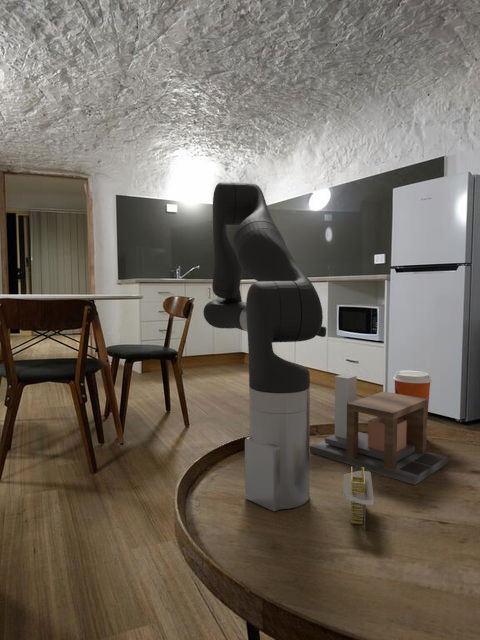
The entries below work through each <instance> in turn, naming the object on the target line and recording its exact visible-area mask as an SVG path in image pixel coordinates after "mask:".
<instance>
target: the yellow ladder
mask: <svg viewBox="0 0 480 640" xmlns="http://www.w3.org/2000/svg"><path fill="white" fill-rule="evenodd" d="M350 466H351V468H350V469H351V470H350V471H351V472H348V473H344V474H343V492H342V494H343V498H344V499H345V500H347V501H349V502H350V523H351V524H357V525H363V531H365V532H366V514H367V513H366V512H367V510H366V509H367V508H366V505H367V506H373V505H374V504H375V500H374V499H375V498H374V491H373V490H374V489H373V481H372V473H371V472H372V471H369V470H365V469H364V467H362V468H363V469H362V468H361V470H356V471H353V465H350Z"/></svg>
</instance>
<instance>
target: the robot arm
mask: <svg viewBox="0 0 480 640" xmlns="http://www.w3.org/2000/svg"><path fill="white" fill-rule="evenodd" d="M266 201H267V200H266V198H265V196H264V192H263V191H262V188H261V187H260V186H259V185H258V184H256V183H253V182H240V181H238V182H237V181H221V182H218V183H217V184H216V186H215V188H214V191H213V197H212V235H213V253H214V254H213V256H214V258H213V261H214V262H213V263H214V264H213V274H212V275H213V278H212V286H211V287H212V292H213V293H214V295H215V296H217V297H218V298H215V299H213V300H211V301H208V302H207V303H206V304H205V305H204V308H203V312H202V313H203V317H204V319H205V321H206V323H208V324H209V325H210V326H211V327H213V328H216V329H217V328H218V329H228V330H229V329H230V330H231V329H239V330H241V331H244V332H247V346H248V347H247V348H248V349H247V350H248V351H247V352H248V385H249V386H248V391H249V393H248V397H249V398H248V401H249V403H248V404H249V406H248V409H249V410H248V412H249V414H248V417H249V420H248V421H249V422H248V423H249V425H248V426H249V428H248V429H249V435H248V436H247V437H245V439H244V474H245V475H244V491H245V493H244V497H245V499H246V500H249V501H251V502H253V503H255V504H257V505H260V506H261V507H264V508H266V509H268V510H269V511H272V512H278V511H279V510H284V509H287V510H288V509H293V508H298V507H301V506H303V505H304V504H306V503H307V502H308V500H309V499H310V446H311V445H310V442H311V441H310V437H311V436H310V432H311V431H310V428H311V427H310V421H311V419H310V416H311V415H310V409H311V407H310V406H311V405H310V404H311V401H310V400H311V396H310V395H311V394H310V393H311V391H310V389H311V385H310V384H311V383H310V382H311V378H310V377H311V376H310V372H309V369H308V368H307V367H305V366H304V365H302V364H299V363H295V362H292V361H289V360H286V359H284V358H282V357H280V356H279V355H277V354H276V353H275V352H274V350H273V349H274V348H273V343H295V342H296V343H297V342H304V341H309V340H310V341H311V340H312V339H314V338H315V337H316V336H317V337H320V338H321V337H322V338H325V337H326V335H327V327H326V326H323V319H324V316H323V313H324V312H323V308H322V303H321V299H320V296H319V294H318V292H317V290H316V288H315V286H314V284H313V283H312V281H311V280H310V279H309V277H308V276H307V275H306V274H305V272H304V271H303V270H302V269H301V267H300V266H299V265H298V264H297V262H296V261H295V259H294V257H293V255H292V254H291V253H290V251H289V248H288V246H287V244H286V242H285V239H284V238H283V236H282V234H281V232H280V230H279V228H278V227H277V226H276V224H275V222H274V220H273V218H272V216H271V214H270V211H269V208H268V205H267V202H266ZM228 225H229V226H237V228H236V230H235V232H234V234H233V239H232V242H233V245H232V243H231V240H230V238H229V236H228V232H227V226H228ZM243 271H244V273H246V274H247V275H248V276H249V277H251V278H252V279H253V280H255V282H253V283H252V284H251V285H250V286H249V288H248V290H247V294H246V299H245V301H242V300H243V299H242V295H241V288H240V287H241V281H242V274H243Z"/></svg>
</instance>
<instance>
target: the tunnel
mask: <svg viewBox="0 0 480 640" xmlns="http://www.w3.org/2000/svg"><path fill="white" fill-rule="evenodd" d="M359 413H360V414H363V415H369V416H373V417H382V418H385V436H384V460H382V459H378V458H375V457H371V456H368V455H364V454H361V453H358V432H359ZM397 418H398V419H403V420H407V432H406V444H409V445H413V446H415V452H413V453H411V454H409V455H408V456H406V457H404V458H402V459H400V460H399V461H397ZM427 424H428V416H427V399H424V398H418V397H412V396H406V395H401V394H395V392H388V391H381V392H378V393H377V392H376V393H374V394H371V395H368V396H365V397H362V398H359V399H356V401H352V402H349V403H347V445H346V449H344V448H340V447H337V446H333V445H330V444H326V443H325V439H324V440H322V441H320V442H317V443H314V444H311V445H310V448H309V453H311V454H315V455H319V456H322V457H325V458H327V459H331V460H334V461H337V462H340V463H343V464H347V465H350V466H352V467H356V468H360V469H361V470H363V468H362V467H364V471H369V472H373V473H375V474H379V475H382V476H385V477H387V478H391V479H395V480H397V481H400V482H404V483H407V484H410V485H413V486H415V485H417V484H418V483H420V482H422V481H423V480H425V479H426V478H428V477H429V476H431V475H432V474H434V473H435V472H437V471H439V469H442V468H443V467H444V466H446V465H447V464H448V463H449V459H448V458H449V457H448V456H446V455H442V454H438V453H434V452H430V451H427V440H428V439H427V438H428V437H427V436H428V435H427V434H428V431H427V429H428V425H427Z"/></svg>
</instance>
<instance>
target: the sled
mask: <svg viewBox="0 0 480 640" xmlns="http://www.w3.org/2000/svg"><path fill="white" fill-rule="evenodd" d="M357 376H358V375H351V374H347V373H345V374H344V373H343V374H338V375H335V376H334V434H333V435H330V436H327V437H325V438H324V440H325V443H326V444H330V445H333V446H337V447H340V448H344V449H346V445H347V403H349V402H352V401H356V400H358V399H357V395H358V394H357V390H358V387H357V385H358V384H357V383H358V382H357V381H358V377H357ZM406 432H407V420H403V419H398V418H397V461H399V460H400V459H402V458H404V457H406V456H408V455H409V454H411V453H413V452H415V446H413V445H409V444H406ZM384 436H385V418H382V417H377V416H375V417H374V418H371V419H369V420H368V421H367V433H366V432H365V433H364V432H360V431H358V453H361V454H364V455H368V456H371V457H375V458H378V459H382V460H384Z"/></svg>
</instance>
